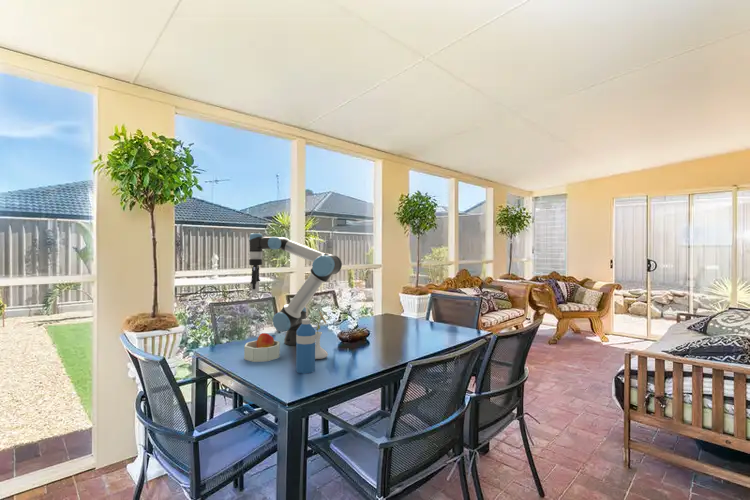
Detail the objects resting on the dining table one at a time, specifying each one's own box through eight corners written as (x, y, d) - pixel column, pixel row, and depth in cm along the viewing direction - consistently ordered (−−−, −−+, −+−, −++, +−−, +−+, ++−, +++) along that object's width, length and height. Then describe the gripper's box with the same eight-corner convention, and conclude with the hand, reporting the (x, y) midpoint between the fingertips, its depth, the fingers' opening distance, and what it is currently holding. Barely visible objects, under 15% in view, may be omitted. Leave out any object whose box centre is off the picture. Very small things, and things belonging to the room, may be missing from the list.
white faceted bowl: (280, 351, 218) (280, 339, 218) (278, 360, 200) (278, 347, 200) (247, 352, 214) (247, 340, 214) (242, 362, 197) (242, 348, 197)
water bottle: (313, 373, 180) (313, 321, 180) (293, 373, 181) (294, 321, 180) (316, 367, 190) (317, 318, 190) (298, 367, 190) (298, 317, 190)
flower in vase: (323, 361, 200) (324, 314, 199) (303, 360, 202) (304, 313, 202) (331, 354, 212) (332, 310, 212) (312, 353, 215) (312, 309, 214)
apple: (263, 349, 202) (269, 331, 207) (250, 349, 206) (255, 331, 211) (274, 355, 210) (279, 337, 215) (260, 354, 213) (265, 337, 219)
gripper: (251, 257, 243) (251, 290, 243) (246, 259, 218) (246, 296, 218) (264, 258, 244) (263, 290, 244) (259, 259, 220) (259, 295, 220)
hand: (255, 293), depth 231 cm, fingers open, 13 cm apart
